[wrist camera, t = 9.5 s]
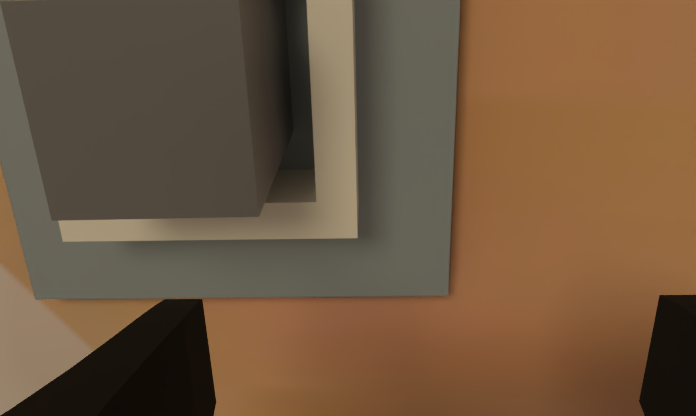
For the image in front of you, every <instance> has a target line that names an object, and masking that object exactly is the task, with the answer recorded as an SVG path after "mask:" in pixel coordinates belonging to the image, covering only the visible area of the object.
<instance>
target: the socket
mask: <svg viewBox="0 0 696 416" xmlns="http://www.w3.org/2000/svg"><path fill="white" fill-rule="evenodd" d="M0 1H6V0H0ZM285 14H286V28H287V43H288V58H289V73H290V87H291V102H292V117H293V133H292V136H291V138H290V141H289V143H288V146H287V148H286V151H285V153H284V156H283V158H282V161H281V163H280V166H279V168H278V171H277V173H276V176H275V178H274V181H273V183H272V186H271V188H270V191H269V193H268V196H267V198H266V201H265V203H264V206H263V208H262V211H261V213H260V216H259V217H223V218H170V219H116V220H62V221H52V220H51V216H50V212H49V207H48V203H47V199H46V195H45V191H44V186H43V182H42V178H41V174H40V169H39V165H38V161H37V157H36V152H35V148H34V144H33V140H32V136H31V131H30V127H29V123H28V119H27V114H26V110H25V106H24V102H23V97H22V93H21V89H20V85H19V81H18V76H17V72H16V68H15V64H14V59H13V55H12V51H11V47H10V43H9V38H8V34H7V30H6V26H5V21H4V17H3V13H2V9H1V4H0V163H1V167H2V171H3V175H4V179H5V183H6V187H7V190H8V194H9V198H10V202H11V206H12V210H13V214H14V218H15V222H16V226H17V230H18V234H19V238H20V241H21V245H22V249H23V253H24V257H25V261H26V265H27V269H28V273H29V277H30V281H31V285H32V289H33V293H34V296H35V299H142V298H260V297H377V296H448V286H449V262H450V238H451V214H452V190H453V166H454V142H455V117H456V93H457V69H458V45H459V21H460V0H285Z"/></svg>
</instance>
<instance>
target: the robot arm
mask: <svg viewBox="0 0 696 416" xmlns="http://www.w3.org/2000/svg"><path fill="white" fill-rule="evenodd" d="M639 402H640V404H641V407H642V409H643V412H644V415H645V416H696V295H660V296H659V301H658V306H657V312H656V317H655V322H654V327H653V332H652V338H651V343H650V348H649V353H648V358H647V364H646V369H645V374H644V379H643V384H642V389H641V395H640V400H639ZM215 405H216V398H215V391H214V383H213V376H212V368H211V361H210V353H209V346H208V339H207V331H206V324H205V316H204V309H203V302H202V299H165V300H163V301H162V302H160V303H158V304H157V305H155V306H154V307H153V308H151V309H150V310H148V311H147V312H146V313H144V314H143V315H141V316H140V317H139V318H137V319H136V320H135V321H133V322H132V323H131V324H129V325H128V326H127V327H125V328H124V329H123V330H122V331H120V332H119V333H118V334H116V335H115V336H114V337H112V338H111V339H110V340H108V341H107V342H106V343H104V344H103V345H102V346H100V347H99V348H97V349H96V350H95V351H93V352H92V353H91V354H89V355H88V356H87V357H85V358H84V359H83V360H81V361H80V362H79V363H77V364H76V365H75V366H73V367H72V368H70V369H69V370H68V371H66V372H65V373H63V374H62V375H60V376H59V377H57V378H56V379H54V380H53V381H51V382H50V383H48V384H47V385H45V386H44V387H43V388H41V389H40V390H38V391H37V392H35V393H34V394H32V395H31V396H30V397H28V398H27V399H25V400H23V401H22V402H20V403H19V404H18V405H16V406H15V407H13V408H12V409H10V410H9V411H7V412H5V413H4V414H2V415H1V416H213V415H214V410H215Z"/></svg>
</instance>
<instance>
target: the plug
mask: <svg viewBox="0 0 696 416" xmlns="http://www.w3.org/2000/svg"><path fill="white" fill-rule="evenodd" d="M0 4H1V9H2V13H3V17H4V21H5V26H6V30H7V34H8V38H9V43H10V47H11V51H12V55H13V59H14V64H15V68H16V72H17V76H18V81H19V85H20V89H21V93H22V97H23V102H24V106H25V110H26V114H27V119H28V123H29V127H30V131H31V136H32V140H33V144H34V148H35V152H36V157H37V161H38V165H39V169H40V174H41V178H42V182H43V186H44V191H45V195H46V199H47V203H48V207H49V212H50V216H51V220H52V221H62V220H116V219H170V218H223V217H259V216H260V213H261V211H262V208H263V206H264V203H265V201H266V198H267V196H268V193H269V191H270V188H271V186H272V183H273V181H274V178H275V176H276V173H277V171H278V168H279V166H280V163H281V161H282V158H283V156H284V153H285V151H286V148H287V146H288V143H289V141H290V138H291V136H292V133H293V117H292V102H291V87H290V73H289V58H288V43H287V28H286V14H285V0H6V1H0Z"/></svg>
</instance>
